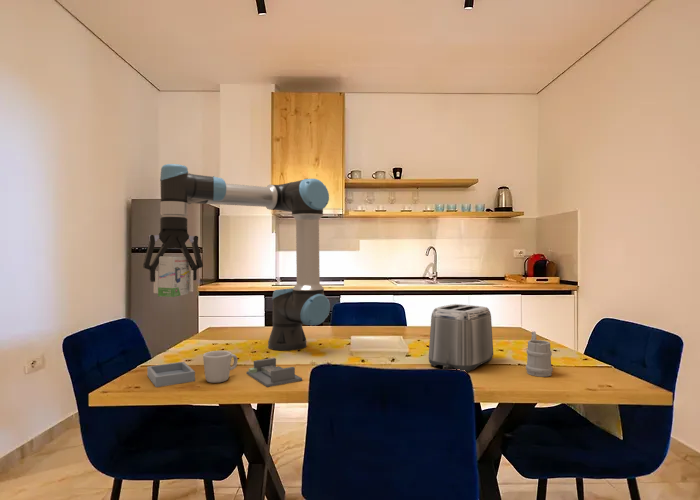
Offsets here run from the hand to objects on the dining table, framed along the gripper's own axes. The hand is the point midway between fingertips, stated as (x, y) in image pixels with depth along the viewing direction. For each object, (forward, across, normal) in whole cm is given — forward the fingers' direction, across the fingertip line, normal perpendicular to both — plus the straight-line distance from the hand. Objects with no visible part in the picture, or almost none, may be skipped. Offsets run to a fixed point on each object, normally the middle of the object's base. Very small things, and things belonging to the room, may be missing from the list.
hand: (173, 292), depth 131 cm
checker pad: (+25, -25, +16) cm, 39 cm away
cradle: (+26, -25, +16) cm, 39 cm away
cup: (+26, -12, +9) cm, 30 cm away
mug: (+26, -96, +57) cm, 115 cm away
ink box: (+1, 0, 0) cm, 1 cm away
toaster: (+26, -84, +37) cm, 95 cm away
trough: (+26, +1, -1) cm, 26 cm away
